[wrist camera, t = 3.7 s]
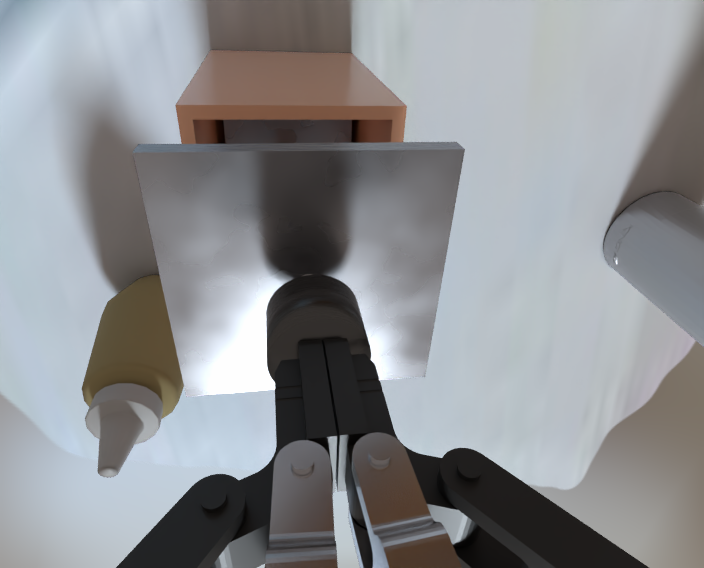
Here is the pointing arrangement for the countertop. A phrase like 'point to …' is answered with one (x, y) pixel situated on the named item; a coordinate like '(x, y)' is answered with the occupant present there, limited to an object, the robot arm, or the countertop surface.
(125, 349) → the squeeze bottle
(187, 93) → the open tunnel frame
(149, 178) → the drawer with knob
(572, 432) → the countertop surface
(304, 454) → the robot arm
